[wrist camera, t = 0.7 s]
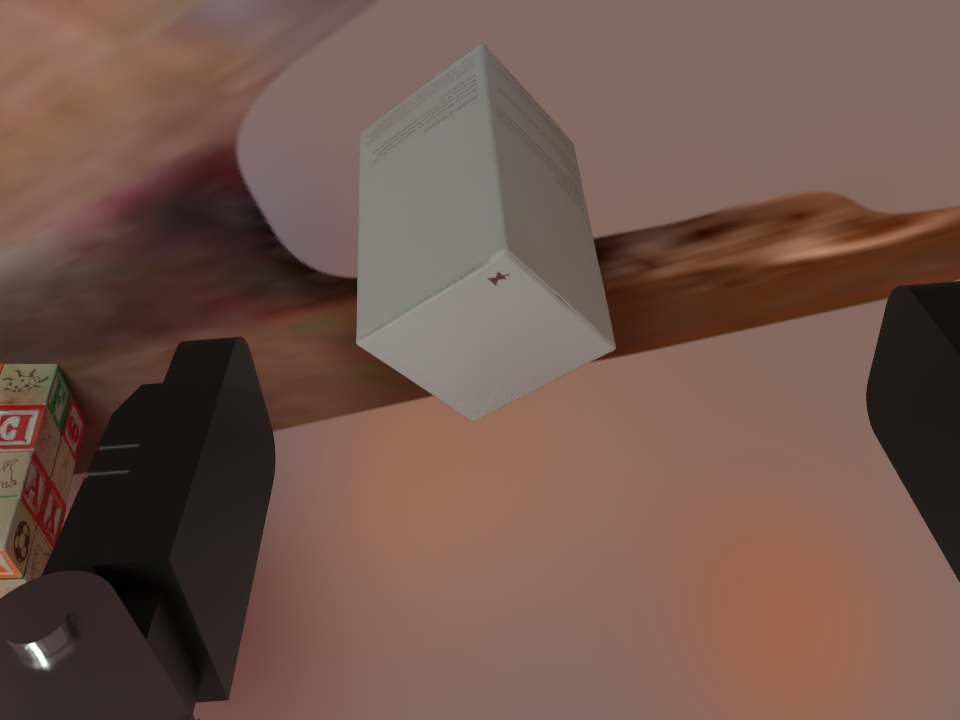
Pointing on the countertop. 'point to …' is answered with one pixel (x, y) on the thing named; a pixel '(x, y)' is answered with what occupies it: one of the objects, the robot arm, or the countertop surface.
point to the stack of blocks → (34, 466)
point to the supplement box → (476, 242)
